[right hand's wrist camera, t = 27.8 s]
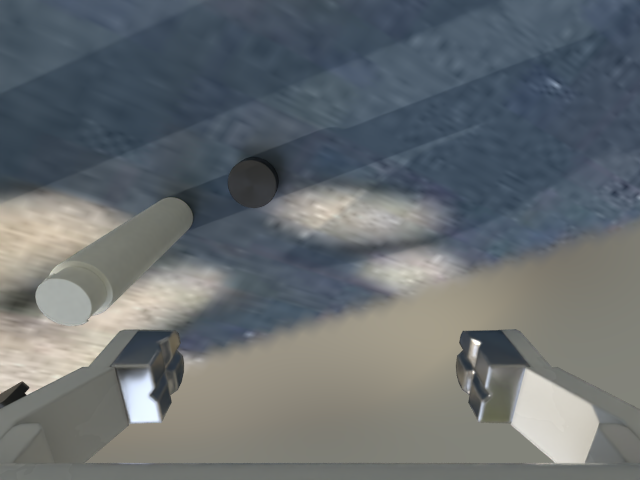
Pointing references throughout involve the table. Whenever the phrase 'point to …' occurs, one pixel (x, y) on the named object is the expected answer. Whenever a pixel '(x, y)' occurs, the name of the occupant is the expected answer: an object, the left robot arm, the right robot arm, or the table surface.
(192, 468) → the right robot arm
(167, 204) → the grey cylinder
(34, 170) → the table surface
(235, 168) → the lid
